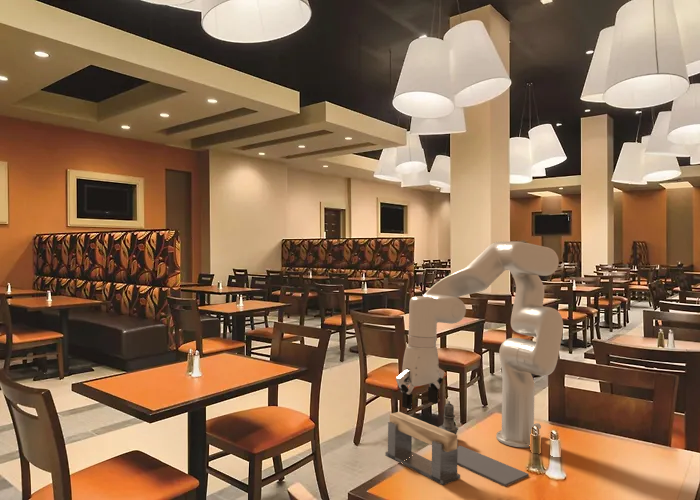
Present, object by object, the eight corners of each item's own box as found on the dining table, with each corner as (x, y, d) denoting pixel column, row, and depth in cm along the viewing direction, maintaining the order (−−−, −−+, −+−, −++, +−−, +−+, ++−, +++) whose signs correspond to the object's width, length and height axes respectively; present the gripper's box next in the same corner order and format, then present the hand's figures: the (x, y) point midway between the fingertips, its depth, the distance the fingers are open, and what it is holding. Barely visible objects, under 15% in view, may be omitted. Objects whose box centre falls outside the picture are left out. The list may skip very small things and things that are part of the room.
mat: (460, 447, 150) (460, 445, 150) (528, 476, 132) (528, 473, 132) (437, 455, 144) (437, 453, 144) (505, 486, 126) (505, 484, 126)
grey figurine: (458, 443, 153) (458, 404, 153) (438, 442, 154) (439, 402, 154) (458, 436, 159) (458, 398, 159) (439, 435, 160) (439, 397, 160)
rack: (401, 450, 147) (402, 416, 147) (460, 478, 130) (460, 440, 130) (385, 455, 143) (385, 421, 143) (443, 485, 126) (443, 446, 126)
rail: (398, 424, 146) (398, 411, 146) (456, 448, 129) (457, 434, 129) (389, 426, 144) (389, 414, 144) (447, 452, 127) (447, 437, 127)
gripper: (434, 337, 144) (432, 397, 144) (389, 342, 134) (387, 406, 134) (454, 341, 138) (452, 403, 138) (408, 347, 128) (406, 414, 128)
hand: (420, 405), depth 136 cm, fingers open, 9 cm apart
